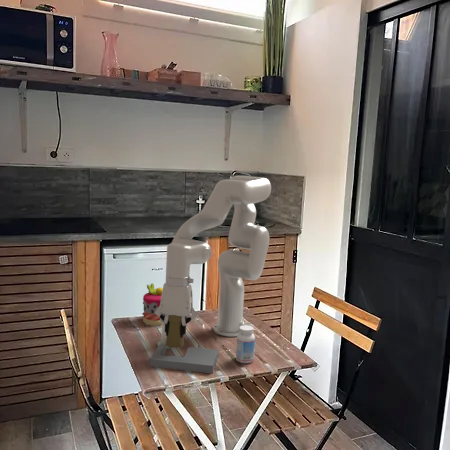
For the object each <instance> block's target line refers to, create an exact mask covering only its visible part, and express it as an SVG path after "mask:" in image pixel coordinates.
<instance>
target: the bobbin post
mask: <svg viewBox="0 0 450 450" xmlns="http://www.w3.org/2000/svg"><path fill="white" fill-rule="evenodd" d="M160 321H161V322H162V326H161V331H160V332H161V333H160V334H161V337H160V340H158V341H157V348H158V347H159V345H160V344H166V338H167V336H166V332H165V324H164V322H163V320H162V319H161V318H160ZM171 349H173V348H171V347H168V346H166V350H171Z"/></svg>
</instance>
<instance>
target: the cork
mask: <svg viewBox="0 0 450 450" xmlns="http://www.w3.org/2000/svg"><path fill="white" fill-rule="evenodd" d="M168 321H169V330H168V336H167V338H166V346H168V347H171V348H172V349H179V348H182V347H183V346H185V342H184V341H185V340H184V336H183V337H180V327H181V325H182V318H181V317H180V316H177V315H169V316H168Z"/></svg>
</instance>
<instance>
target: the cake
mask: <svg viewBox="0 0 450 450" xmlns="http://www.w3.org/2000/svg"><path fill="white" fill-rule="evenodd" d="M146 288H147V289H148V290H147V291H148V292H147V293H144V295H143V297H142V305H143V313H141V314H142V316H143V317H142V321H143V322H144V323H145V324H144V323H143V324H144V325H145V326H148V325H150V326H151V327H162V322H161V321H160V317H159V316H158V315H156V314H155V311H156V310H157V309H158V307H159V306H160V303H161V295H162V290H163V287H158V288H157V287H156V288H155V284H154V282H153V283H150V284H147V285H146ZM150 326H149V327H150Z"/></svg>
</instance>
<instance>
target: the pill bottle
mask: <svg viewBox="0 0 450 450" xmlns="http://www.w3.org/2000/svg"><path fill="white" fill-rule="evenodd" d="M254 328H255V327H254ZM254 328H253V327H252V326H248V325H243V326H240V328H239V332H240V333H239V334H238V335H237V336H236V347H235V348H236V350H235V351H236V353H235V358H236V359H235V360H236V361H237V362H239V363H242V364H250V363H253V361H254V359H255V349H256V348H255V347H256V346H255V345H256V344H255V343H256V336H255V334H254Z"/></svg>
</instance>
